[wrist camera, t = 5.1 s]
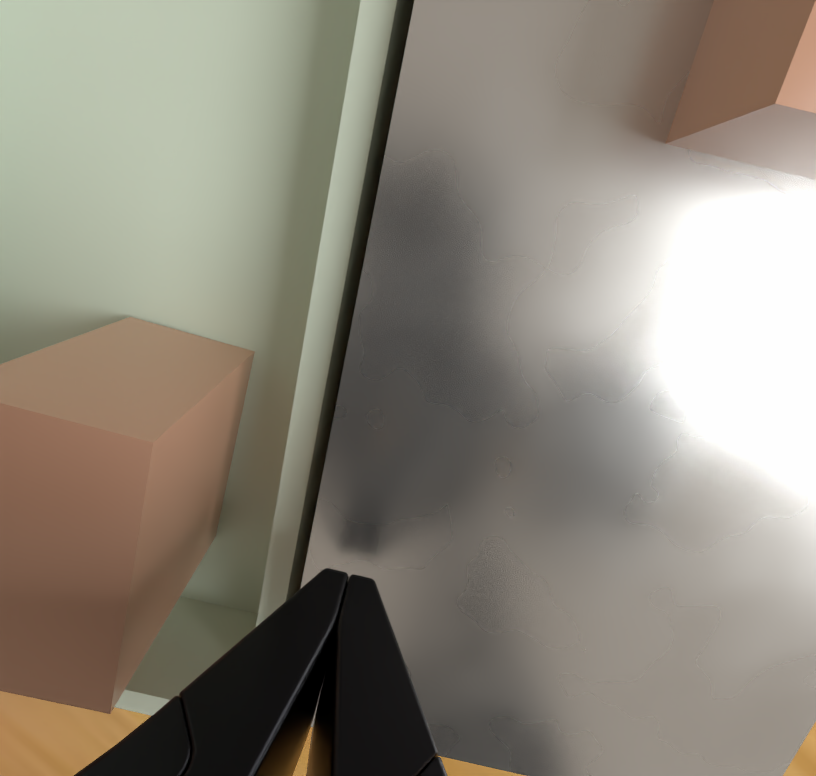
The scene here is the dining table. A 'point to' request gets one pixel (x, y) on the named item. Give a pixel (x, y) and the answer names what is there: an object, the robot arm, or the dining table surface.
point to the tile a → (107, 499)
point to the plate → (581, 405)
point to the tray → (203, 237)
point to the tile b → (753, 86)
